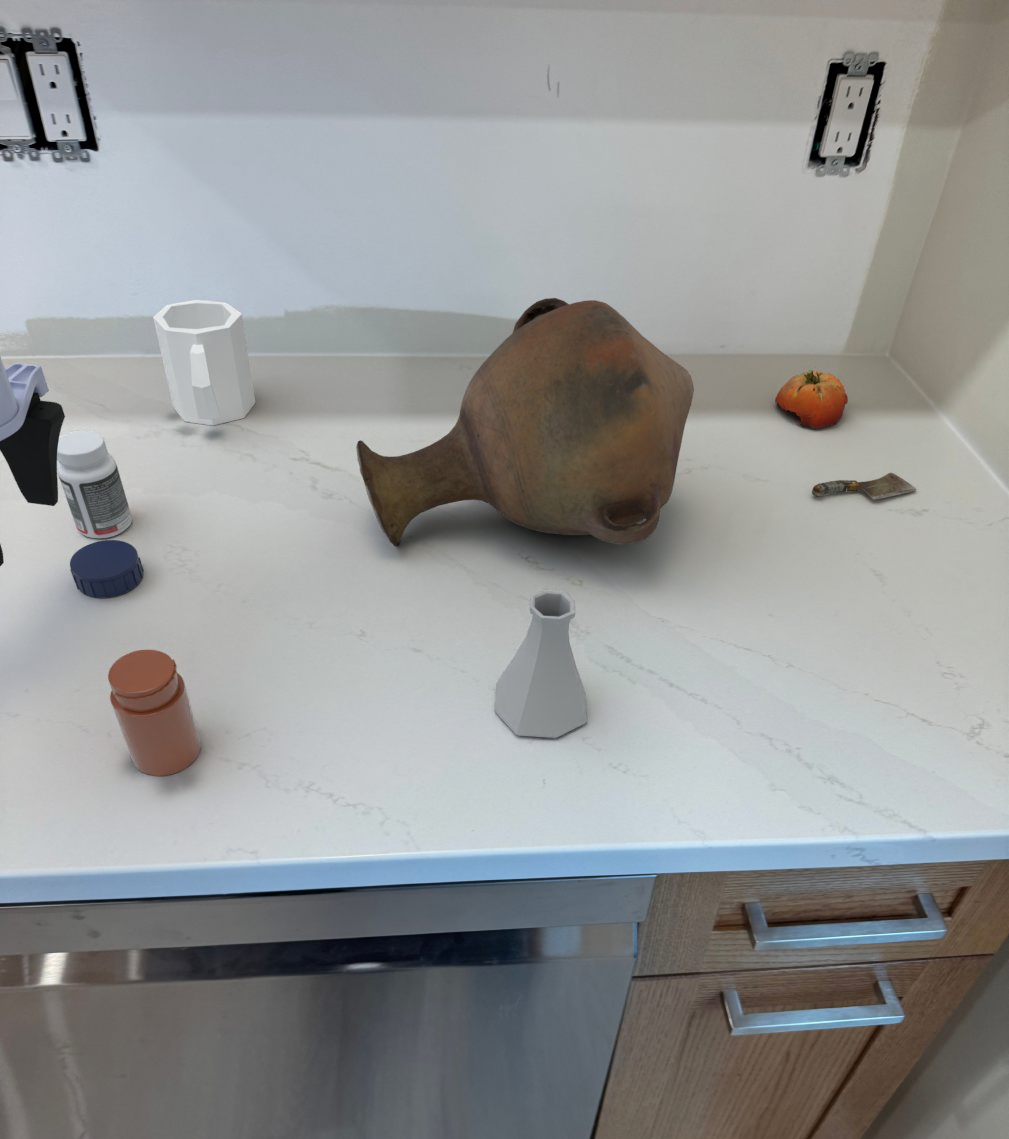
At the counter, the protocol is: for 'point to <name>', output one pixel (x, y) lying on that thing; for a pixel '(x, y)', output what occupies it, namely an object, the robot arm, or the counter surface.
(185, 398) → the mug
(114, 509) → the pill bottle
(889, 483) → the meat cleaver
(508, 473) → the jug
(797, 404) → the tomato
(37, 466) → the robot arm
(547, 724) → the flask
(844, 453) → the counter surface
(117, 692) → the jar
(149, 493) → the counter surface
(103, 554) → the lid
